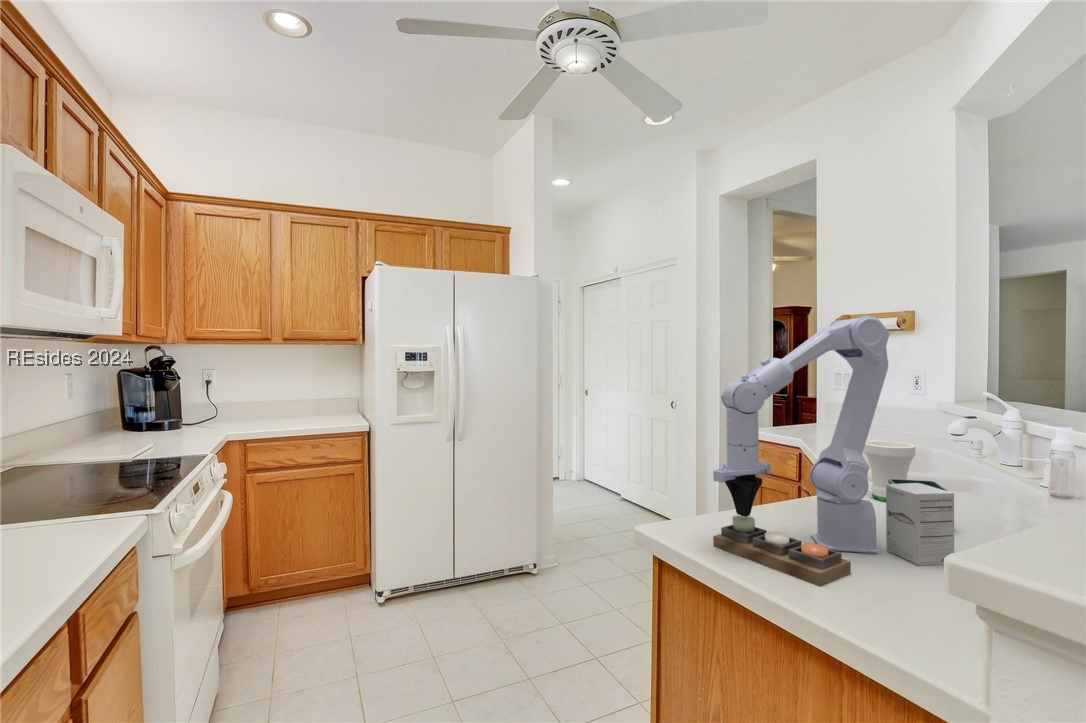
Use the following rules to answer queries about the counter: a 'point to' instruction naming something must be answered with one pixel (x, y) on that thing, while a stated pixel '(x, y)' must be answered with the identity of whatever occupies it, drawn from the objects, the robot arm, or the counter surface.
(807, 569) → the button board
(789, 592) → the counter surface
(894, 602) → the counter surface
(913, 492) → the supplement box
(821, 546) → the terracotta button
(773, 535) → the cream button
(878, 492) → the cup
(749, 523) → the sage button
